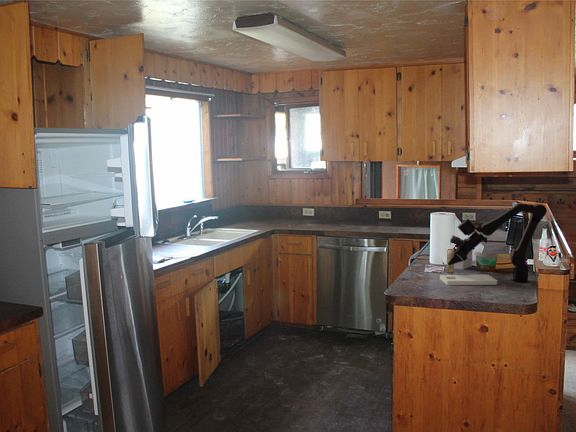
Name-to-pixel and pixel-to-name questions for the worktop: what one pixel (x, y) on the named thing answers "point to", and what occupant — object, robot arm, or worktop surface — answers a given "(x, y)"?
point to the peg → (449, 256)
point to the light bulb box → (465, 262)
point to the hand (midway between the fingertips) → (448, 262)
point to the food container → (486, 261)
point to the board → (468, 280)
